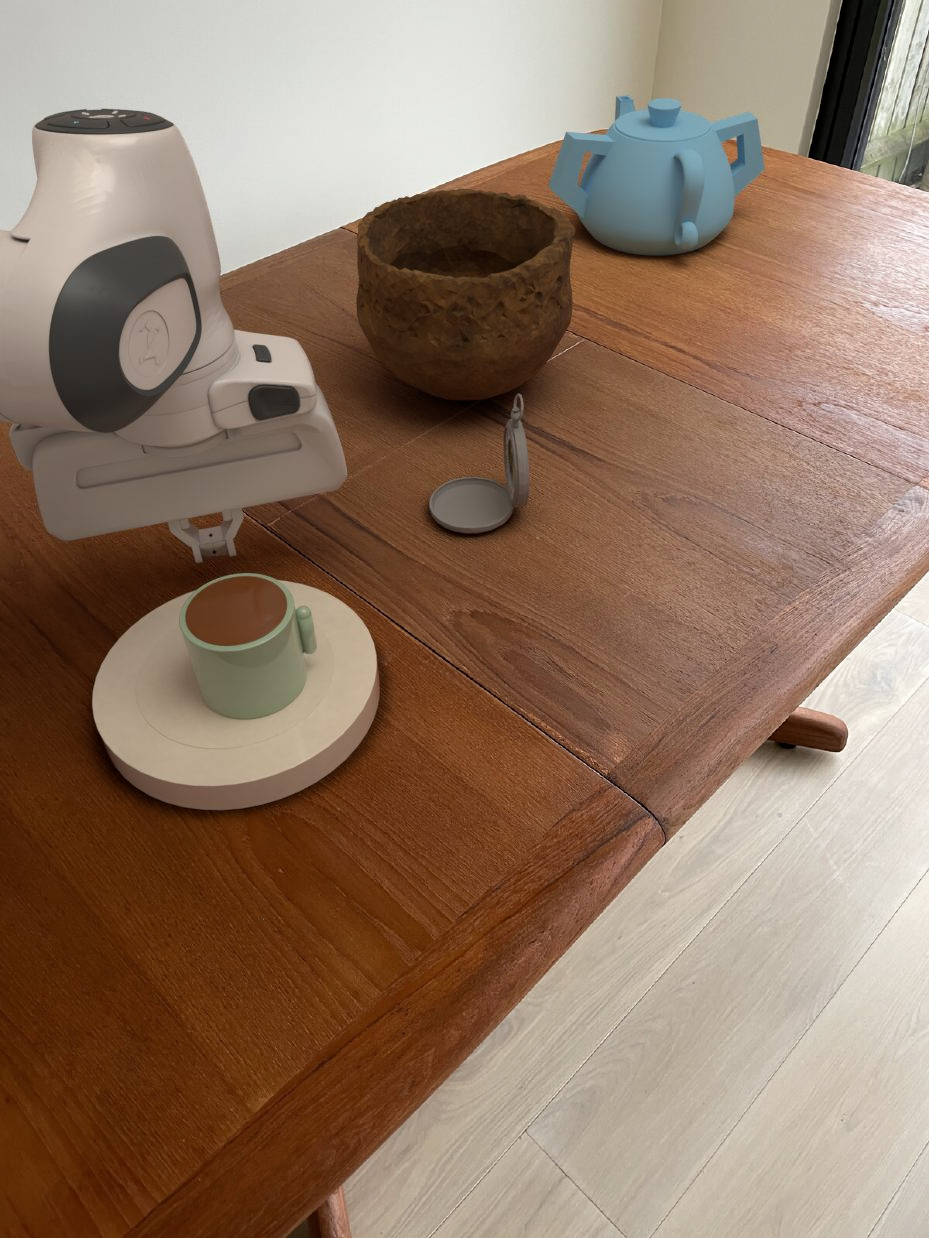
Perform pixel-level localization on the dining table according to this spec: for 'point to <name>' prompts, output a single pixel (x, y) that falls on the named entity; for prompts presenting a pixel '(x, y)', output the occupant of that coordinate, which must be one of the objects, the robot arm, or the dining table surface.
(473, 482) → the pocket watch
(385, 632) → the dining table surface
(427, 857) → the dining table surface
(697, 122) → the teapot
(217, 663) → the teacup
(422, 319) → the bowl
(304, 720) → the plate
